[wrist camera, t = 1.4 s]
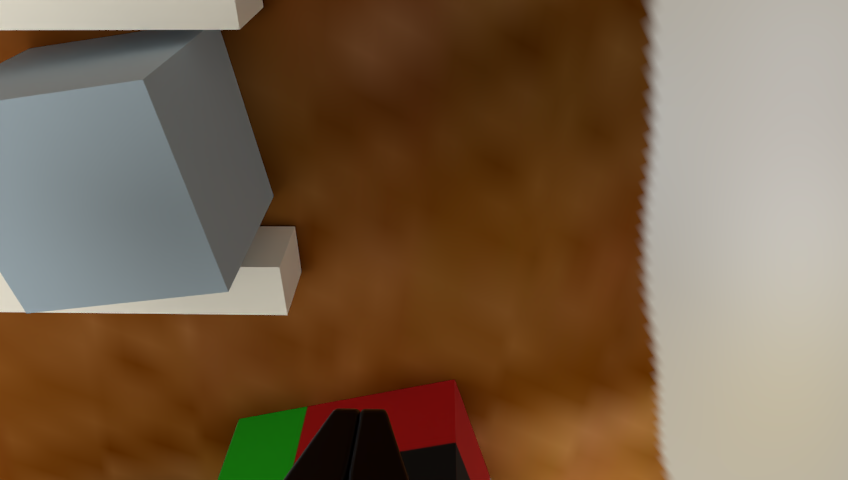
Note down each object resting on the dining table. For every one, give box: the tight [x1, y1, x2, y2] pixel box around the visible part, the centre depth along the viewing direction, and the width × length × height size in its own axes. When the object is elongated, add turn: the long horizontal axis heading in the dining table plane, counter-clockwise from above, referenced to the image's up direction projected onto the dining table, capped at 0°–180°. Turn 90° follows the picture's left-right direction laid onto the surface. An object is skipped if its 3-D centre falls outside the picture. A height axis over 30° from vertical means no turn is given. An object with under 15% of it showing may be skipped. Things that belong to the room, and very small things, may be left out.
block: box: [0, 30, 274, 313], centre depth 18 cm, size 6×6×6 cm
